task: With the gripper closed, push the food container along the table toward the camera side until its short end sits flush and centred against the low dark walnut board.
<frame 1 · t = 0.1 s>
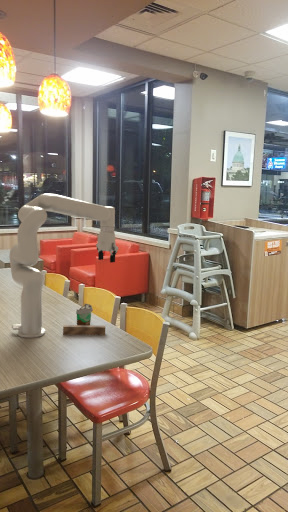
hand: (106, 260, 213), 31 cm above the table, tool pointing down, fingers open, 9 cm apart
food container: (86, 326, 201), on the table
walnut board: (84, 334, 189), on the table
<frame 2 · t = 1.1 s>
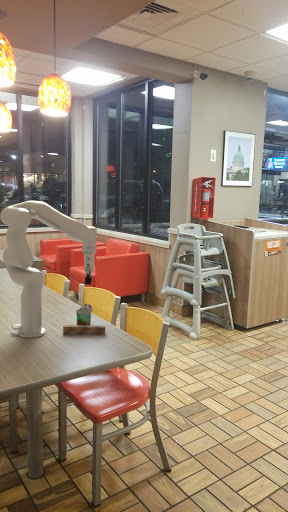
hand: (88, 282, 210), 19 cm above the table, tool pointing down, fingers open, 5 cm apart
nothing on the table moved.
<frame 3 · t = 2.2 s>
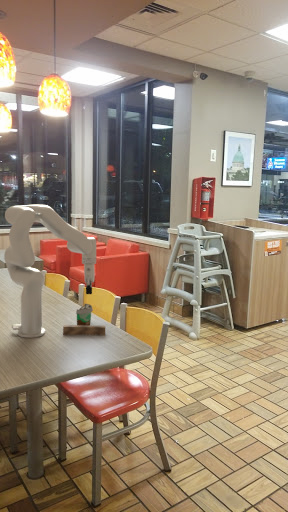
hand: (89, 293, 212), 13 cm above the table, tool pointing down, fingers closed
nothing on the table moved.
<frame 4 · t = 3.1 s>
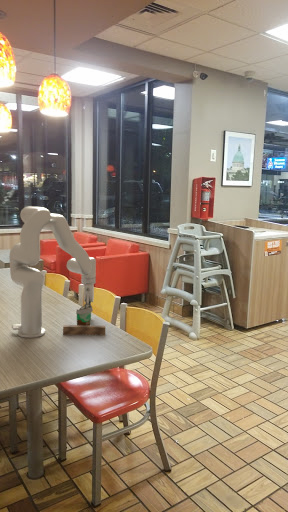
hand: (88, 313, 213), 3 cm above the table, tool pointing down, fingers closed
nothing on the table moved.
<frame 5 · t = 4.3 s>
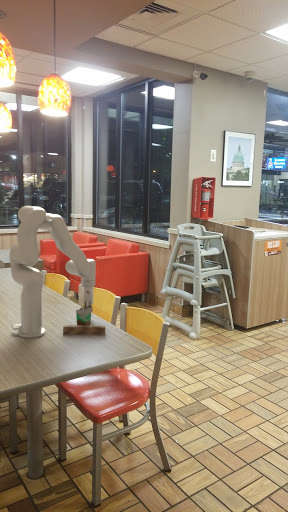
hand: (87, 315, 209), 2 cm above the table, tool pointing down, fingers closed
food container: (86, 326, 200), on the table, touching gripper
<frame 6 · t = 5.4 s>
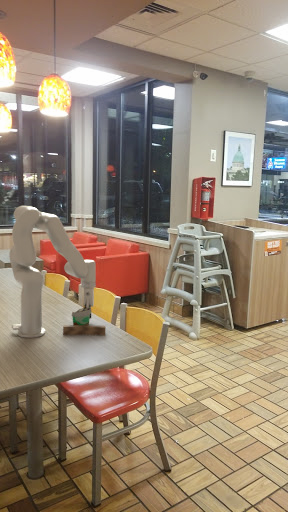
hand: (88, 317, 205), 3 cm above the table, tool pointing down, fingers closed
food container: (84, 328, 196), on the table, touching gripper
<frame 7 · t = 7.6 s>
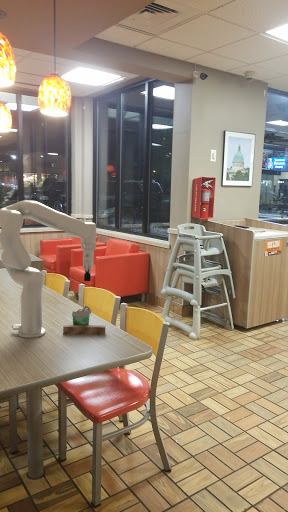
hand: (87, 280, 206), 21 cm above the table, tool pointing down, fingers closed
food container: (83, 329, 196), on the table
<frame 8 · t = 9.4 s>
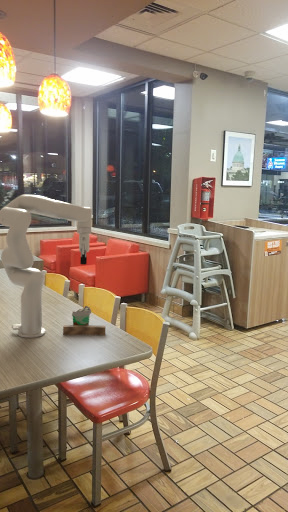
hand: (83, 264, 211), 29 cm above the table, tool pointing down, fingers closed
nothing on the table moved.
at the end: food container inside the target area on the table beside the walnut board (0.8 cm from its centre), on the table; food container tilted 0° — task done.
